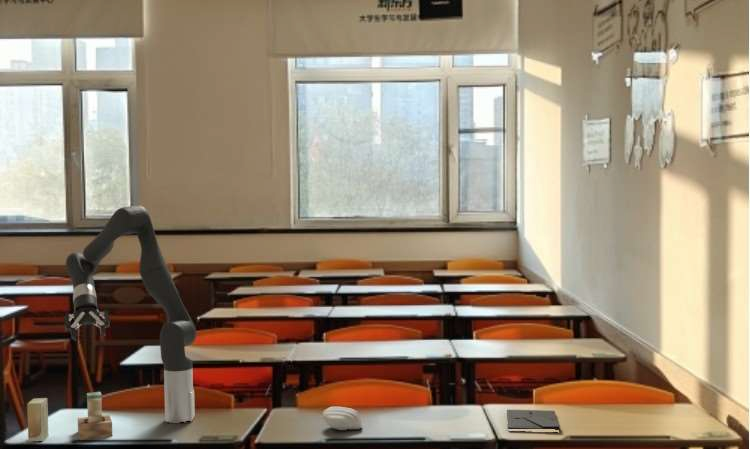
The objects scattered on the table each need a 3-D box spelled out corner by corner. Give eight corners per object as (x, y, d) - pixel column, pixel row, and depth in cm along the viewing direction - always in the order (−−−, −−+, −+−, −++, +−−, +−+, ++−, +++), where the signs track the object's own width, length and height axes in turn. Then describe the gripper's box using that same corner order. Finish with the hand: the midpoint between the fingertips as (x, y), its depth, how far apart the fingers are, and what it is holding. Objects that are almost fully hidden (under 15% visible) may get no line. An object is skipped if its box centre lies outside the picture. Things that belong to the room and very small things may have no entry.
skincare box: (34, 436, 250) (33, 397, 249) (49, 436, 250) (48, 397, 250) (27, 443, 243) (26, 403, 243) (42, 442, 244) (41, 402, 243)
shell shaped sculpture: (313, 429, 253) (313, 409, 253) (342, 421, 262) (342, 401, 262) (342, 437, 244) (342, 416, 244) (371, 428, 253) (370, 408, 253)
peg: (101, 429, 254) (100, 391, 254) (102, 432, 251) (101, 394, 250) (87, 431, 253) (86, 393, 252) (88, 434, 249) (87, 396, 249)
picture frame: (559, 435, 245) (554, 416, 266) (559, 426, 245) (554, 408, 266) (508, 434, 248) (506, 415, 268) (507, 424, 247) (506, 407, 268)
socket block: (109, 428, 258) (108, 414, 258) (112, 435, 249) (112, 421, 249) (78, 431, 254) (77, 418, 254) (80, 440, 245) (79, 425, 245)
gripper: (63, 294, 270) (66, 333, 260) (107, 291, 276) (111, 329, 266) (62, 308, 275) (65, 346, 265) (106, 305, 281) (110, 342, 271)
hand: (88, 337), depth 266 cm, fingers open, 8 cm apart
